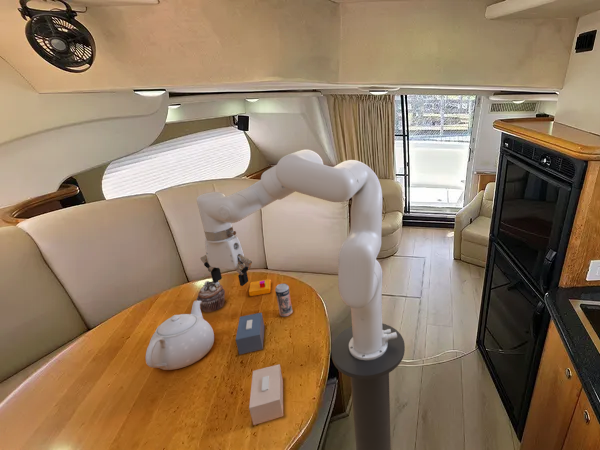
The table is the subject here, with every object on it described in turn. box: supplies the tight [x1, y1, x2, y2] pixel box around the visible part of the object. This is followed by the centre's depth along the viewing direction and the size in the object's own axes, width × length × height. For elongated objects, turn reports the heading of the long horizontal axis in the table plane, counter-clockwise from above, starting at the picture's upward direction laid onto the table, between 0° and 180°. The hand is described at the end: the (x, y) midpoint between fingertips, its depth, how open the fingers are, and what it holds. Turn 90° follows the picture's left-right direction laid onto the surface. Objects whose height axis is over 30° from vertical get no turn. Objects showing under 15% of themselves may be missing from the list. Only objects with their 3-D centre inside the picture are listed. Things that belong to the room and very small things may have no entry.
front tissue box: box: [248, 363, 284, 426], centre depth 82 cm, size 12×7×6 cm, turn 20°
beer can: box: [274, 283, 294, 317], centre depth 116 cm, size 5×5×12 cm
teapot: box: [145, 300, 215, 371], centre depth 97 cm, size 19×18×14 cm
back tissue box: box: [235, 312, 265, 355], centre depth 104 cm, size 12×7×6 cm, turn 20°
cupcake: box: [196, 280, 226, 313], centre depth 121 cm, size 10×10×10 cm
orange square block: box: [248, 278, 272, 297], centre depth 133 cm, size 8×8×4 cm
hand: (231, 282), depth 100 cm, fingers open, 9 cm apart
